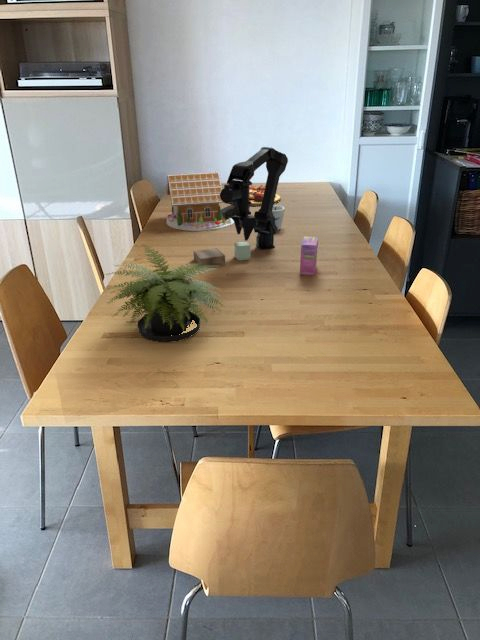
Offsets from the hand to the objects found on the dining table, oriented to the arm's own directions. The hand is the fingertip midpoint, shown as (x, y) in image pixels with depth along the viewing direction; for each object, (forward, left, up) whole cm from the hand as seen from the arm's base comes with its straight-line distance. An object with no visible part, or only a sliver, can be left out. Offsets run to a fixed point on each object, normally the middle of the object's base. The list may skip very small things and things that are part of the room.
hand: (242, 237), depth 209 cm
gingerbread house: (+1, -59, -9) cm, 60 cm away
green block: (0, 0, -9) cm, 9 cm away
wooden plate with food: (-38, -92, -9) cm, 100 cm away
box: (-19, +22, -9) cm, 30 cm away
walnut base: (+14, 0, -9) cm, 17 cm away
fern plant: (+41, +52, -9) cm, 67 cm away
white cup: (-29, -36, -9) cm, 47 cm away
